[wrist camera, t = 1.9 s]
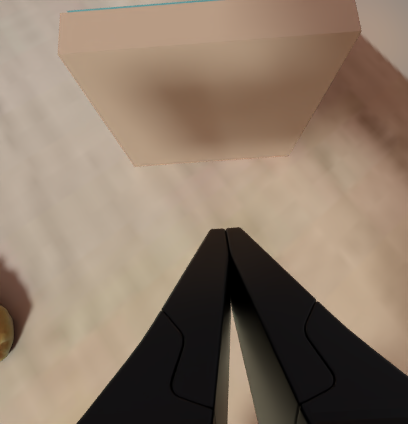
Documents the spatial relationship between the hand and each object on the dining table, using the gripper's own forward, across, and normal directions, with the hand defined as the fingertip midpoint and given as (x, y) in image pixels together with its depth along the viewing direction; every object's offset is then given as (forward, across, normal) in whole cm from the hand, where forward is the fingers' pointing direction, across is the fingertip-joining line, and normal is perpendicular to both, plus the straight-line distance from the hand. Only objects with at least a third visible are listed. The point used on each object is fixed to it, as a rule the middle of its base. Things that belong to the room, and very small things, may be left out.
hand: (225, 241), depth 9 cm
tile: (+16, 0, +3) cm, 16 cm away
